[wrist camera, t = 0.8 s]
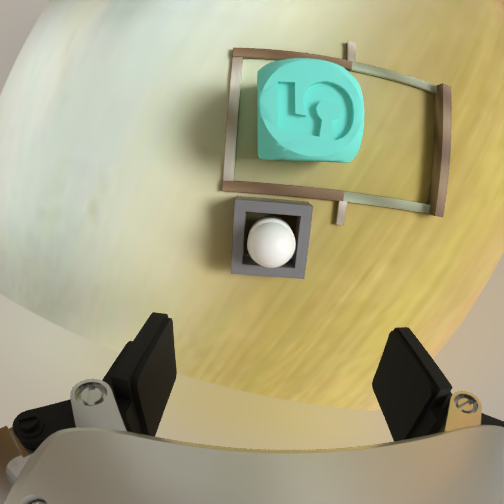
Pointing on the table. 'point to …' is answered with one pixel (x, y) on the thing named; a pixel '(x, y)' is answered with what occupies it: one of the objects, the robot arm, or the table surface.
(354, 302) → the table surface
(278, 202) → the collar
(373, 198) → the lane
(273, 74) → the decorative dice
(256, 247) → the white ball
